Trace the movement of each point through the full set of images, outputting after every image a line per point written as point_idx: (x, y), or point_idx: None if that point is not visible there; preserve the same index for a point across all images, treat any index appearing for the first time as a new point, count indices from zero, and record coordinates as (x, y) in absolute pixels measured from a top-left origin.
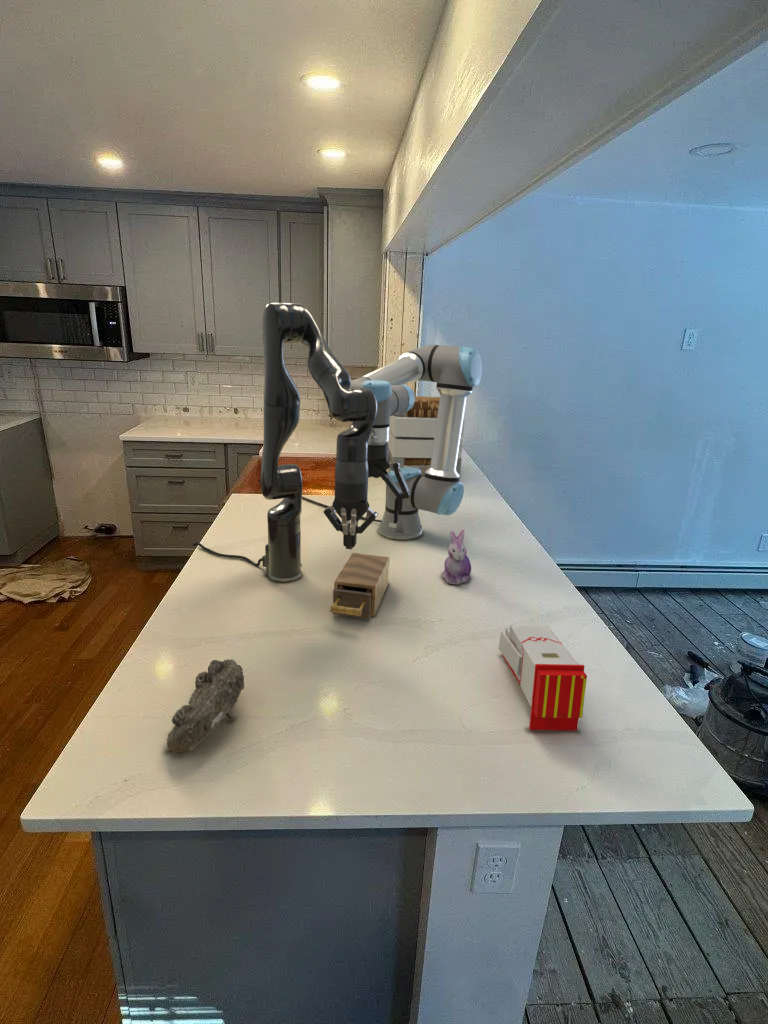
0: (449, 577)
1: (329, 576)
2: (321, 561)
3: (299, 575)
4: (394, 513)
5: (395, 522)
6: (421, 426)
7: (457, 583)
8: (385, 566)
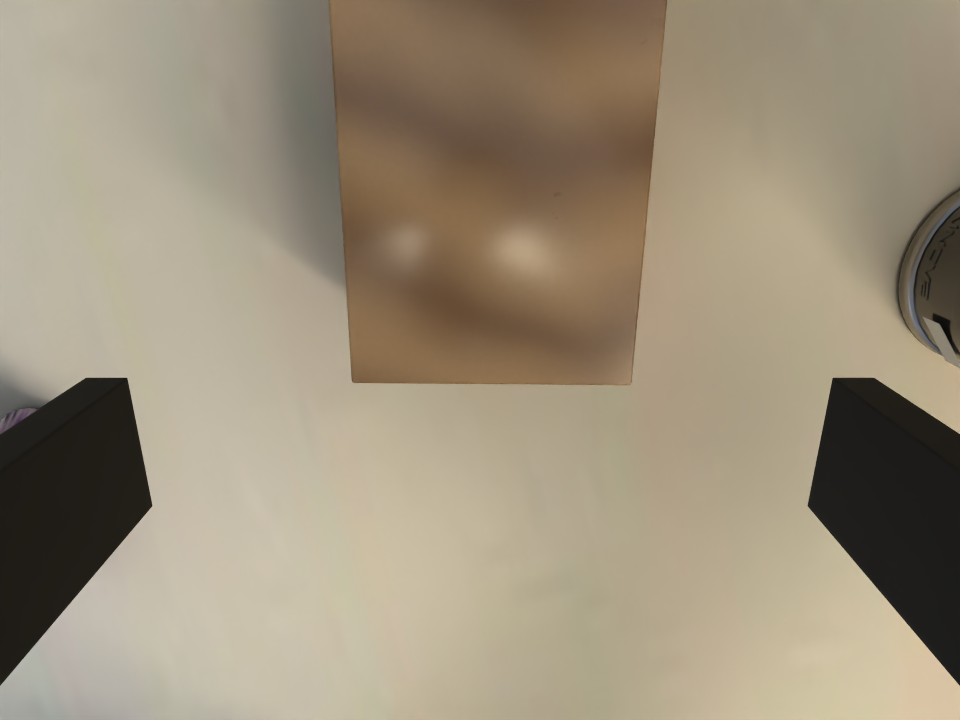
0: None
1: (728, 325)
2: (801, 485)
3: (912, 259)
4: (24, 449)
5: (93, 384)
6: None
7: (11, 413)
8: (344, 234)
